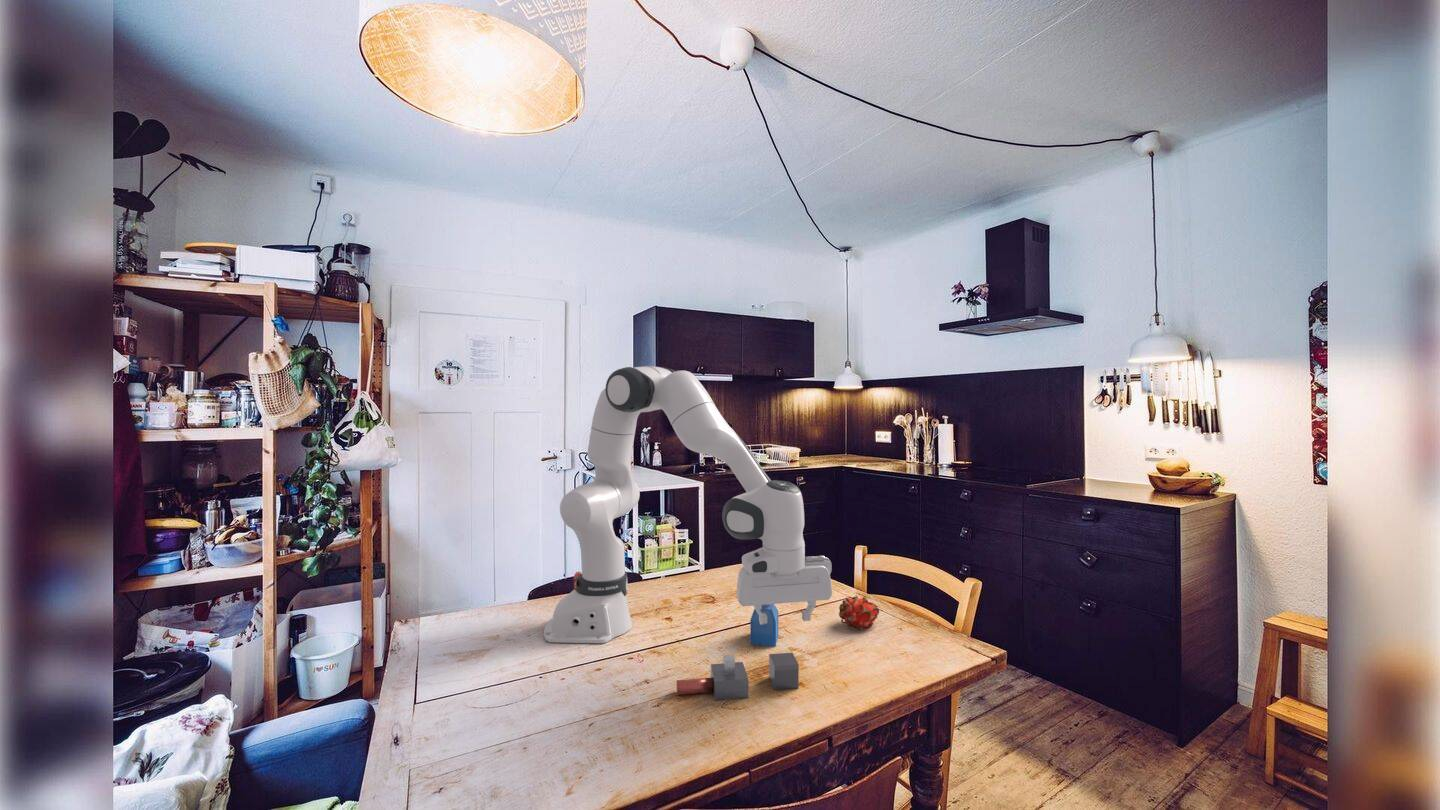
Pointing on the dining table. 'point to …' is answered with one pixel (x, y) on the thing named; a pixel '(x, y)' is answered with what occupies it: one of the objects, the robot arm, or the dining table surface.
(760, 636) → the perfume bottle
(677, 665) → the dining table surface
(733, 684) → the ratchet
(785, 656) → the grey block
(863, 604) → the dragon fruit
